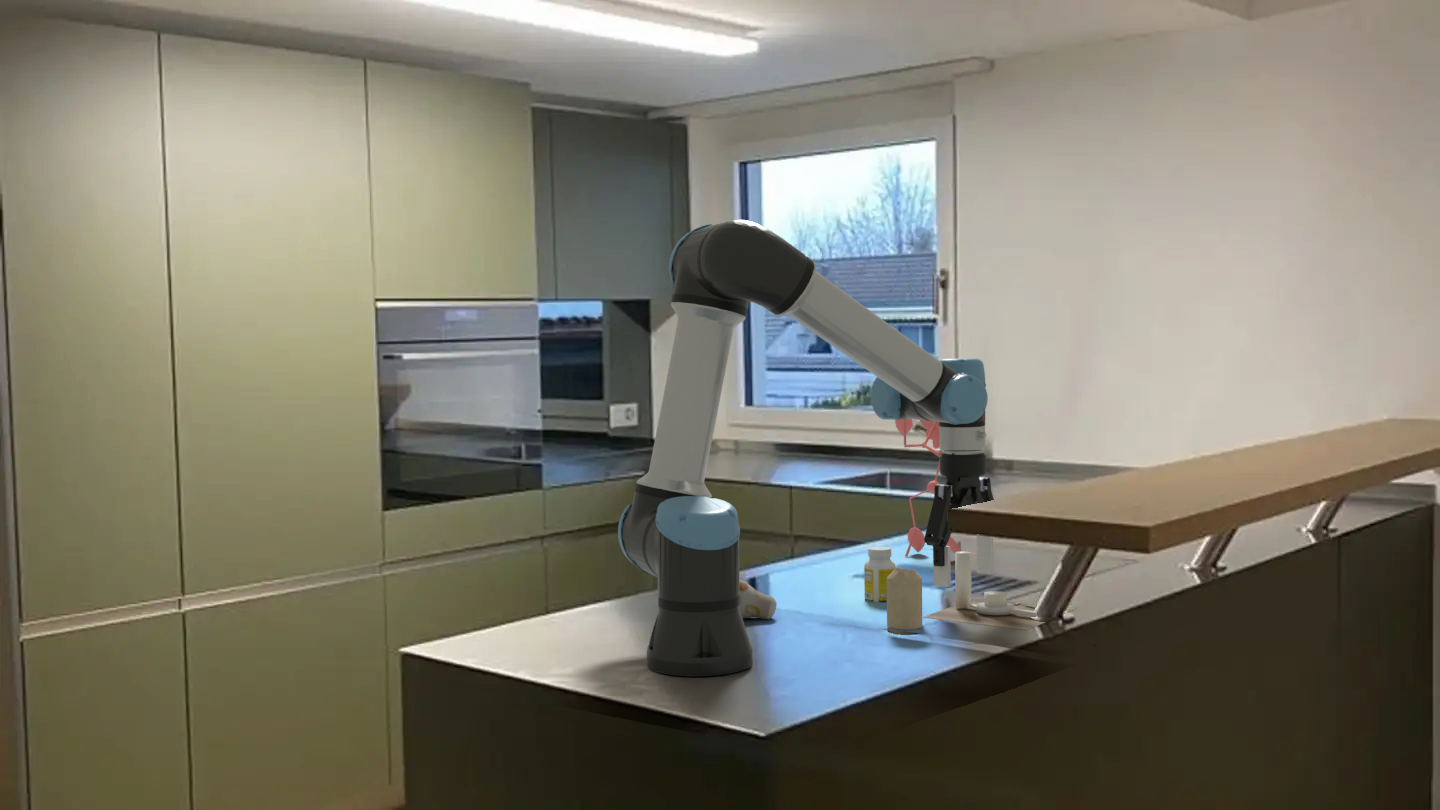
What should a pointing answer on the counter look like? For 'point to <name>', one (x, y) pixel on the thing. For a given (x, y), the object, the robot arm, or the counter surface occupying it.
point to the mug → (755, 602)
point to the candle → (904, 601)
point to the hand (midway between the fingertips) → (964, 579)
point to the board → (990, 616)
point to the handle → (992, 600)
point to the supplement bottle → (877, 573)
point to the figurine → (931, 433)
